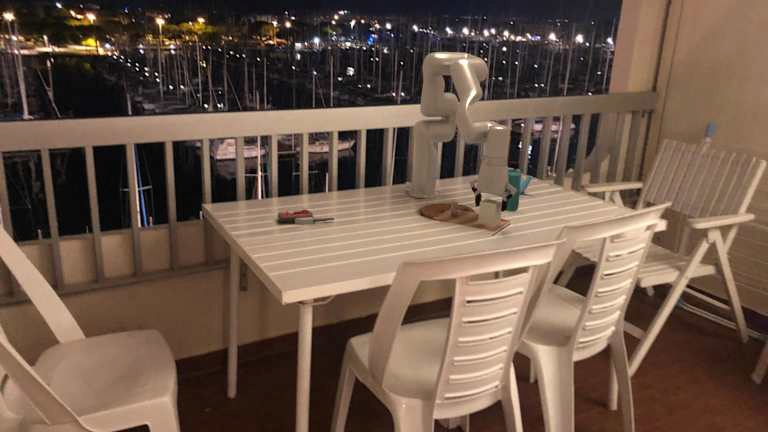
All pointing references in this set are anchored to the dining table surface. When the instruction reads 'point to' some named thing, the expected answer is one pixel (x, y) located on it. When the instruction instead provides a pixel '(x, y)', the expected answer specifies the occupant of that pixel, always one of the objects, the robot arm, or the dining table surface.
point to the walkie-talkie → (298, 217)
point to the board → (467, 219)
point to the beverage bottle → (513, 180)
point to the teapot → (523, 182)
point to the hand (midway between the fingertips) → (490, 208)
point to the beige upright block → (490, 212)
